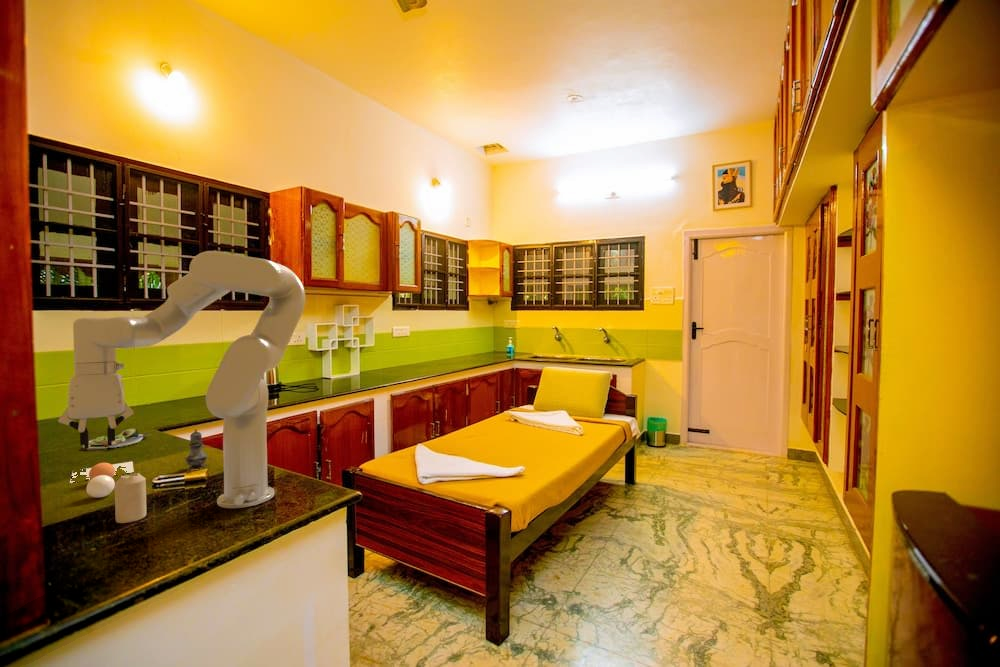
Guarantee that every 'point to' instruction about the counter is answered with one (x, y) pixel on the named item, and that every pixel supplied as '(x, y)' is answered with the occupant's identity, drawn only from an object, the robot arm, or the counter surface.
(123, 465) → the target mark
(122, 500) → the candle
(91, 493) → the cue ball
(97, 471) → the object ball
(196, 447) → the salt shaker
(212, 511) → the counter surface
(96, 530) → the counter surface
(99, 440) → the salad plate
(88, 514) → the counter surface
